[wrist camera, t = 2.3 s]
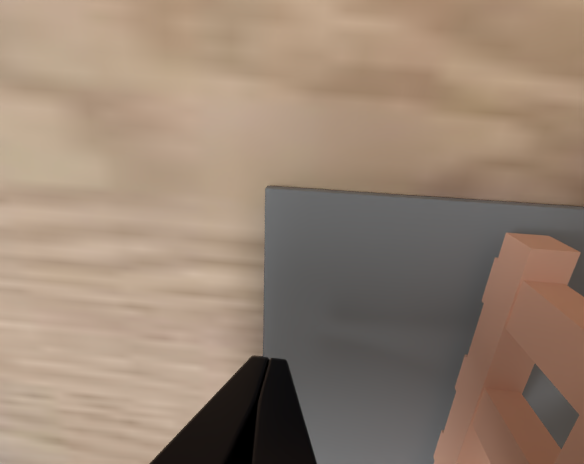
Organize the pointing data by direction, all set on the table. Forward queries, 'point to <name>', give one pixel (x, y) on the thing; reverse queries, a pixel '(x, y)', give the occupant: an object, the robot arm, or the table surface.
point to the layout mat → (391, 311)
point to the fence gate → (520, 360)
